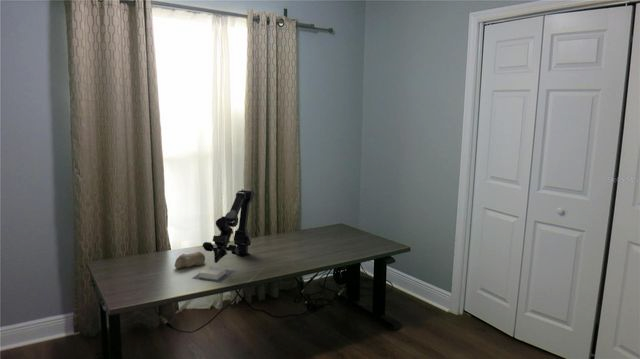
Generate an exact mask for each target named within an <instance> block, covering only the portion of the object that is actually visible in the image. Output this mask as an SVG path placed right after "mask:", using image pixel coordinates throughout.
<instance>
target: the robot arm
mask: <svg viewBox="0 0 640 359" xmlns="http://www.w3.org/2000/svg"><path fill="white" fill-rule="evenodd" d="M254 197H255V191H253V189H248V188H247V189H246V188H242V189H241V190H238V191H237V192H236V194H235V199H234V201H233V203H232V205H231V208H230V210H229V211H228V212H227V213H226V214H225V216H223V215H222V216H221V217H220V218H218V219H216V220H215V226H216V227H217V229H218V231H219V232H220V233H219V234H218V235H213V237H212V242H214V244H213V243H212V242H211V241H210V242H209V241H204V242H203V243H202V247H203V249H204V250H205V251H206V252H213V254H214V256H213V257H214V259H213V260H214V263H215V264H217V263H218V262H219V261H220V260H222V258H224V257H225V256H226V255H228V252H231V255H236V256H238V257H239V256H240V257H245V256H248V255H250V254H251V253H250V252H249V246H251V245H252V240H251V238H250V236H249V234H250V232H249V231H248V221H249V220H248V219H249V214H250V213H249V212H250V204H251V203H252V202H253V200H254ZM239 213H240V215H239ZM238 215H239V217H238ZM237 226H238V228H237V229H236V230H235V231H234V230H233V228H235V227H237ZM232 234H234V235H233V244H230V242H231V236H232Z"/></svg>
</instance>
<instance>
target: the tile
mask: <svg viewBox="0 0 640 359" xmlns="http://www.w3.org/2000/svg"><path fill="white" fill-rule="evenodd" d="M226 269H227V268H226V267H219V266H213V265H208V266H206V267H204V268H203V269H202V270H200V271H199V273H198V274H199V278H203V279H210V280H218V279H220V278H221V277H222V276H224V275H225V274H226Z"/></svg>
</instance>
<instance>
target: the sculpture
mask: <svg viewBox="0 0 640 359" xmlns="http://www.w3.org/2000/svg"><path fill="white" fill-rule="evenodd" d="M205 262H206V257H205V254H204V253H203V252H201V251H196V252H192V253H188V254H187V253H183V254H180V255H179V256H178V257H177V258H176V259H175V263H174V267H175V269H176V270H181V269H182V268H190V267H192V266H203V265H204V263H205Z"/></svg>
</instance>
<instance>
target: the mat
mask: <svg viewBox="0 0 640 359" xmlns="http://www.w3.org/2000/svg"><path fill="white" fill-rule="evenodd" d="M235 272H236V270H234V269H227V268H226V274H225V275H224V276H222V277H221V278H220V279H218V280H210V279H203V278H199V273H198V274H196V275H194V276H193V277H192V278H191V280H192V279H193V280H197V281H204V282H207V281H208V282H211V283H222V282H224V281H225V280H226V279H227V278H229V277H230V276H231V275H232V274H233V273H235Z"/></svg>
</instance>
